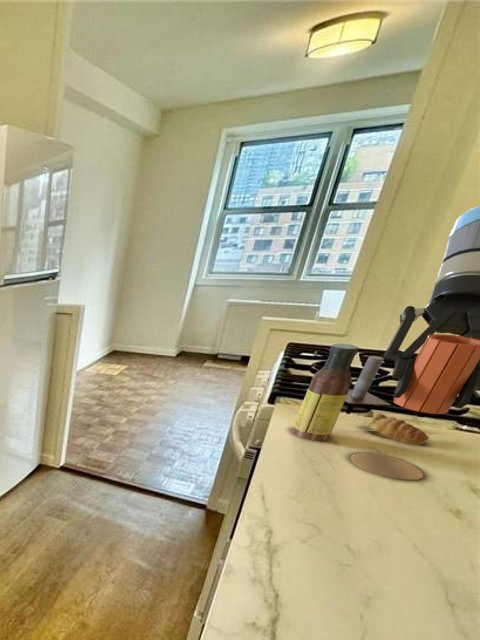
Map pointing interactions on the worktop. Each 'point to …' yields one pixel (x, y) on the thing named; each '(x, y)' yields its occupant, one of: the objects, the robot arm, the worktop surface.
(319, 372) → the sauce bottle
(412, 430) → the pastry
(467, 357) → the orange grooved cup
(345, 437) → the worktop surface
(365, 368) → the post stand
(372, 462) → the cork coaster
